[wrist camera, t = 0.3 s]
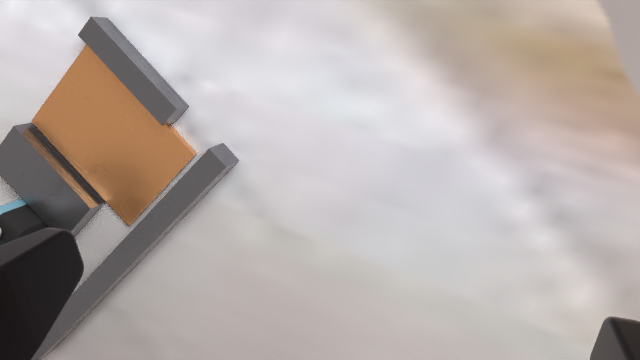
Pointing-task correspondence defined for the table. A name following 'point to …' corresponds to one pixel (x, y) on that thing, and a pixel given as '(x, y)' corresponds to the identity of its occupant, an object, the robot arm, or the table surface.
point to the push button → (18, 221)
